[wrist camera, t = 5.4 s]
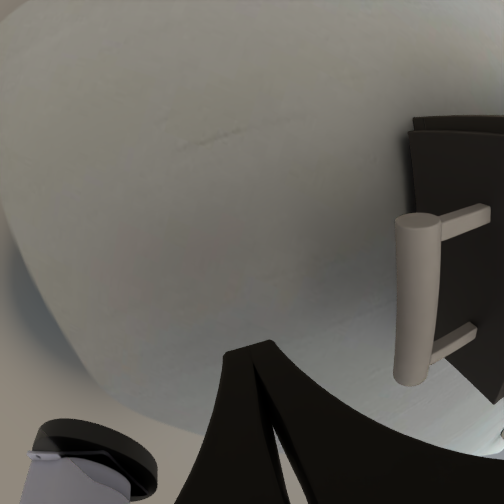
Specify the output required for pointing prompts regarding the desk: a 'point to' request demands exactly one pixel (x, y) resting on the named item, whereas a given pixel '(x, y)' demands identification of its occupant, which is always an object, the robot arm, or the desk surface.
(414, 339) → the drawer
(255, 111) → the desk surface
